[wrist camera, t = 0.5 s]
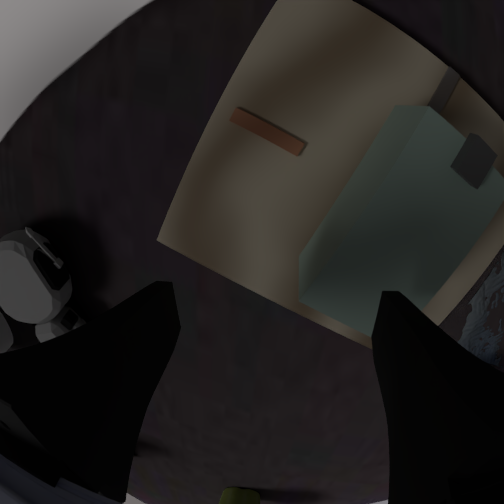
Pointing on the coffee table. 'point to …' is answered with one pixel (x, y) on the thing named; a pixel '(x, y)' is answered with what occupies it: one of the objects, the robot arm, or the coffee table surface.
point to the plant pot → (239, 496)
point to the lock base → (313, 147)
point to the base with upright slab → (5, 335)
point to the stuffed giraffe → (483, 320)
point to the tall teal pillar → (401, 218)
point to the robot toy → (36, 284)
